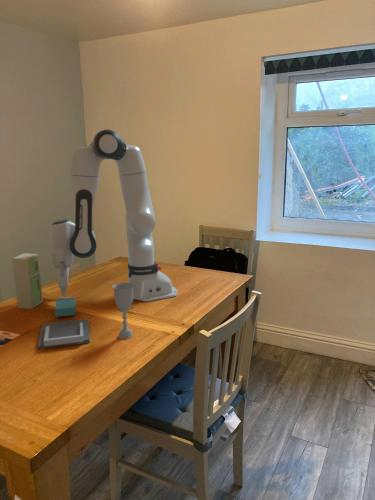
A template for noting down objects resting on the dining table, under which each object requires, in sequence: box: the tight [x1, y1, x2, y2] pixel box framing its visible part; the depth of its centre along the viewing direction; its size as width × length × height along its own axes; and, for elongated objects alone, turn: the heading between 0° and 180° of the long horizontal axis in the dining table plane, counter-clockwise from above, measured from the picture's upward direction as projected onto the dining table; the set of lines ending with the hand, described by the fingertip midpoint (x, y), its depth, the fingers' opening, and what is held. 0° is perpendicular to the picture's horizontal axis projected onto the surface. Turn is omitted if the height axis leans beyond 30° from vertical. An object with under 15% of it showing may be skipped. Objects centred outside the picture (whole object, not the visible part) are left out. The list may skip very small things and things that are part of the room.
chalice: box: [112, 282, 134, 340], centre depth 131 cm, size 7×7×18 cm
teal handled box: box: [54, 296, 77, 320], centre depth 151 cm, size 7×10×5 cm
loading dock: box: [37, 318, 91, 350], centre depth 135 cm, size 16×21×4 cm
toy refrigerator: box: [12, 252, 44, 310], centre depth 157 cm, size 8×7×21 cm
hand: (64, 291), depth 163 cm, fingers open, 8 cm apart
